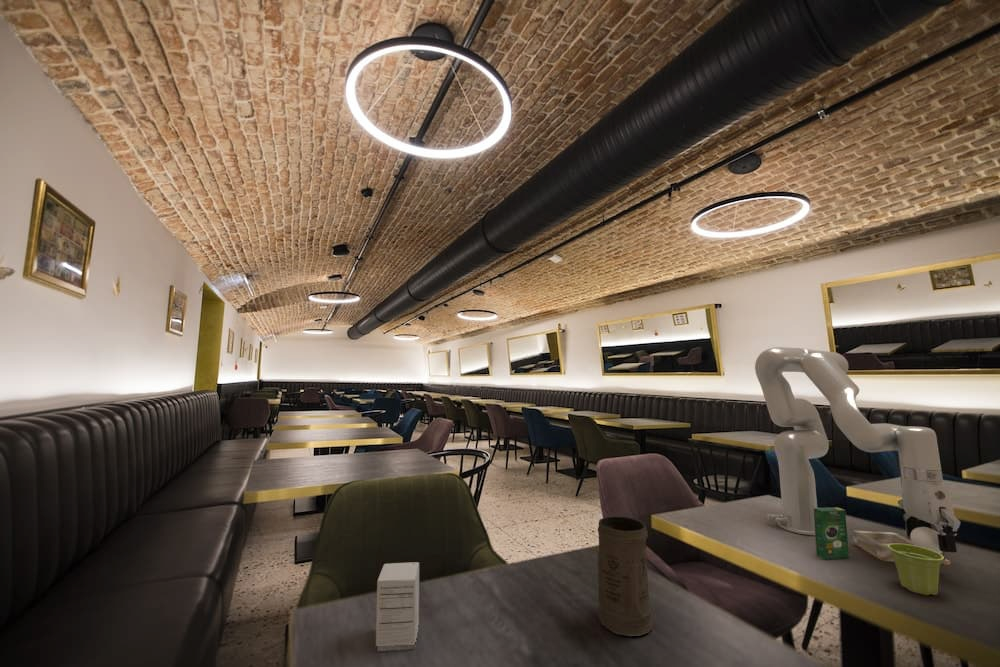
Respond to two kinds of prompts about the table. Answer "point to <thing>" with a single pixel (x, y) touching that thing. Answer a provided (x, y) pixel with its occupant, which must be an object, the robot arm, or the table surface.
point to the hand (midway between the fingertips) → (931, 544)
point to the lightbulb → (925, 538)
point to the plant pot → (917, 567)
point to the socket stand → (884, 541)
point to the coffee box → (831, 533)
